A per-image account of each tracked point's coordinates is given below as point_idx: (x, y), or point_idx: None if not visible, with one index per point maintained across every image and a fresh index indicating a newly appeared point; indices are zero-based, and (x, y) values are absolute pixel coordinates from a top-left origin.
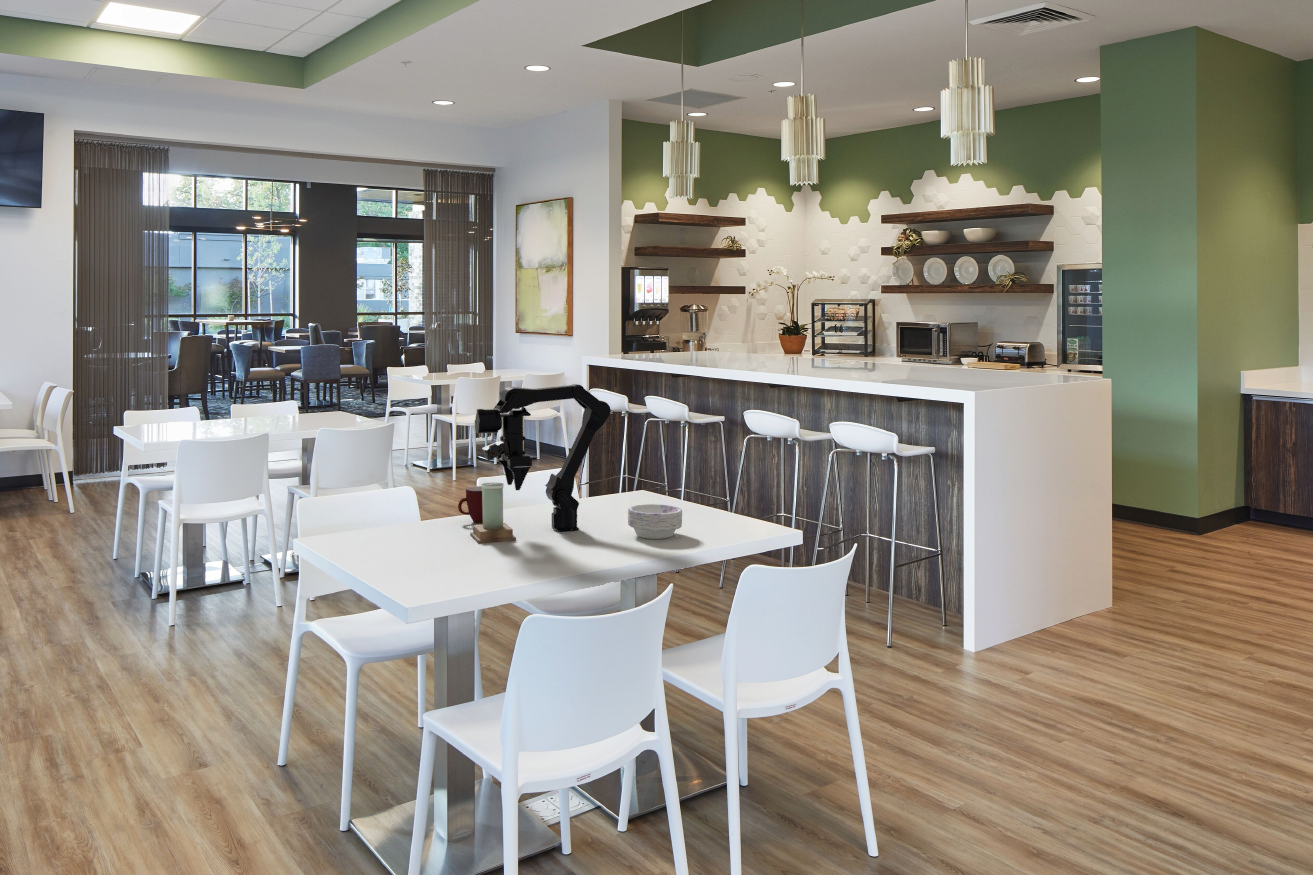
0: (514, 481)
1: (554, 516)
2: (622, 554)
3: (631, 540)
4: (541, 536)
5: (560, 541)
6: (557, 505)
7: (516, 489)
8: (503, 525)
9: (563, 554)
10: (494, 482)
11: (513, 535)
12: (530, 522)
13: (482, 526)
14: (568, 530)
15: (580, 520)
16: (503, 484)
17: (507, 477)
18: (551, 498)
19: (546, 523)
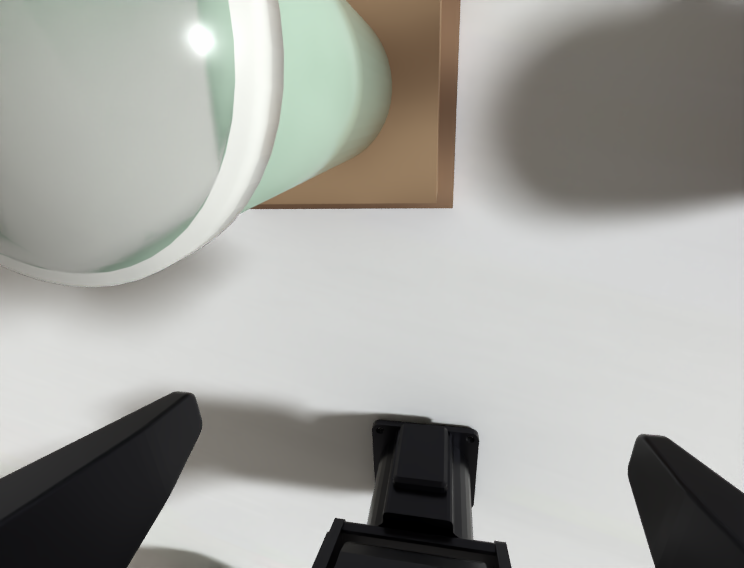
0: (47, 464)
1: (394, 470)
2: (25, 458)
3: (192, 542)
4: (309, 335)
5: (204, 371)
6: (426, 545)
7: (168, 400)
8: (353, 173)
9: (7, 315)
10: (229, 137)
11: (293, 208)
12: (657, 386)
13: (362, 4)
14: (375, 457)
15: (566, 558)
16: (29, 272)
17: (720, 545)
18: (359, 561)
19: (583, 439)
